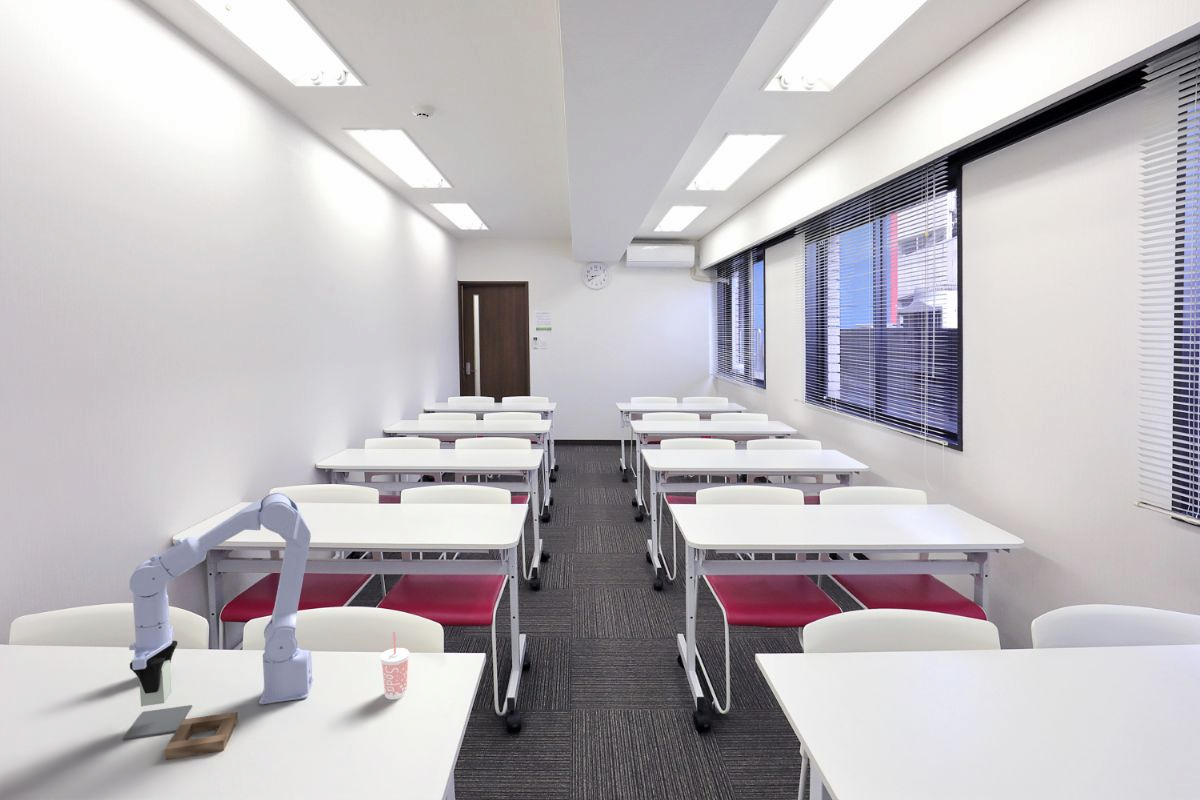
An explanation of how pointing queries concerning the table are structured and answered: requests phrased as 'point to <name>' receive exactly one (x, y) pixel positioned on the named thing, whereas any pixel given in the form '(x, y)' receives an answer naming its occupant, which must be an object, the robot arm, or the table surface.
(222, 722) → the frame
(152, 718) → the mat
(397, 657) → the beverage cup
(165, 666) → the part block
